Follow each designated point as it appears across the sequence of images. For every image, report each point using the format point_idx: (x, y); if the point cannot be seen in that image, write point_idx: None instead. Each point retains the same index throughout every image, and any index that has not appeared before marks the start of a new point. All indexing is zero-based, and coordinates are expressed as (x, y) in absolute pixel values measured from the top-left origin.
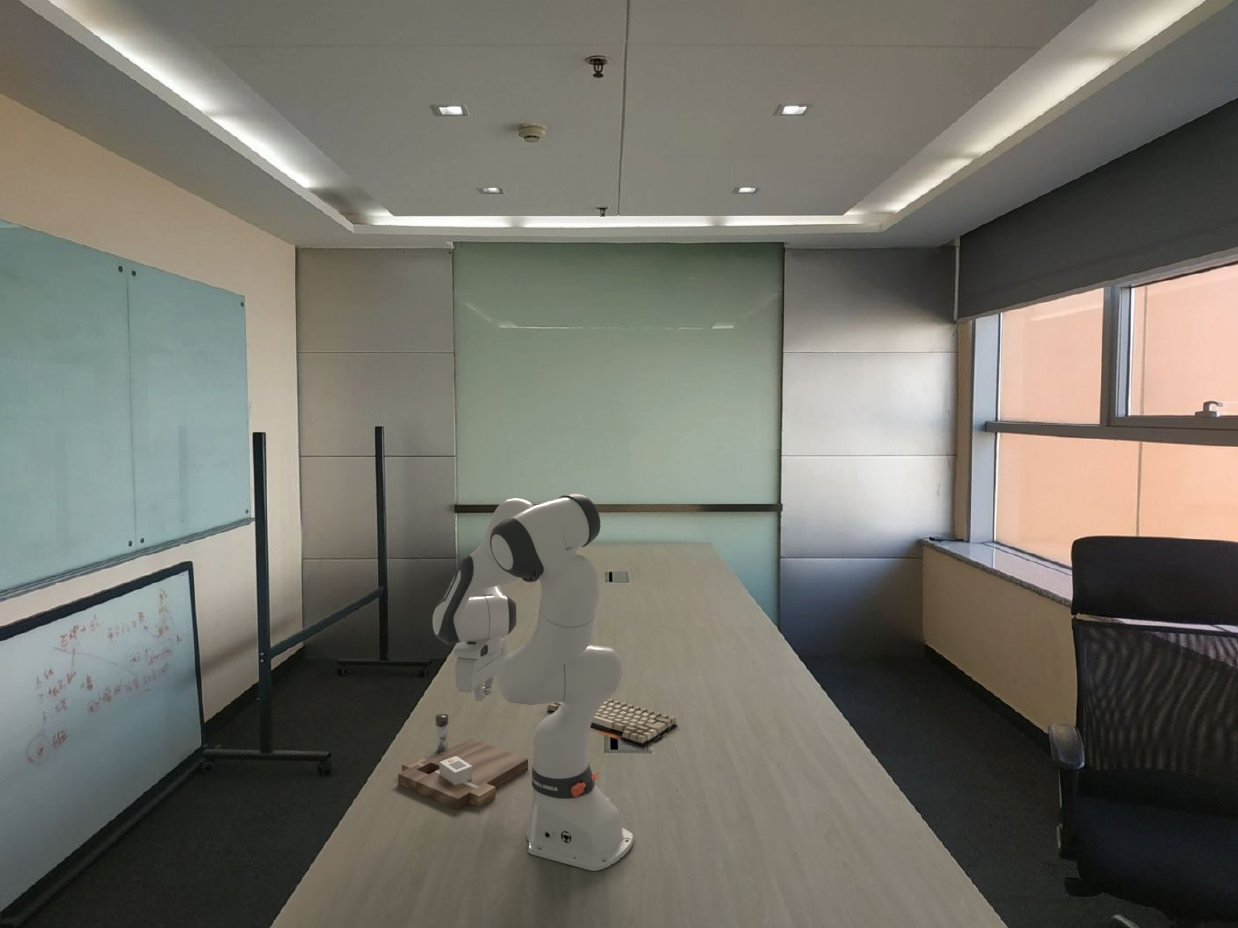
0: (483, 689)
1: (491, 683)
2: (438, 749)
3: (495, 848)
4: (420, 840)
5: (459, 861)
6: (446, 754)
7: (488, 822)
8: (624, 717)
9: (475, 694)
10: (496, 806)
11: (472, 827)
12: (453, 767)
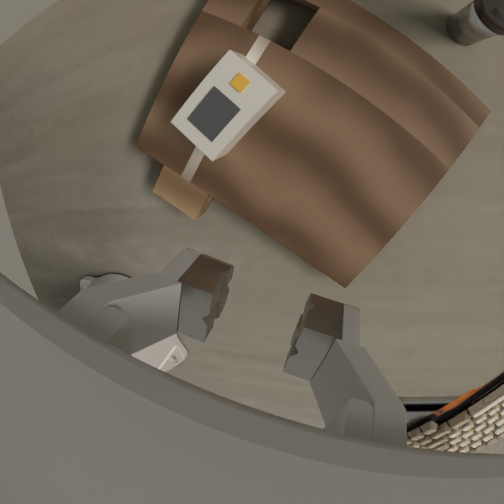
0: (304, 326)
1: (322, 410)
2: (449, 19)
3: (79, 232)
4: (70, 113)
5: (50, 190)
6: (378, 43)
7: (126, 211)
8: (483, 425)
9: (166, 271)
10: (174, 217)
11: (109, 186)
12: (197, 106)
